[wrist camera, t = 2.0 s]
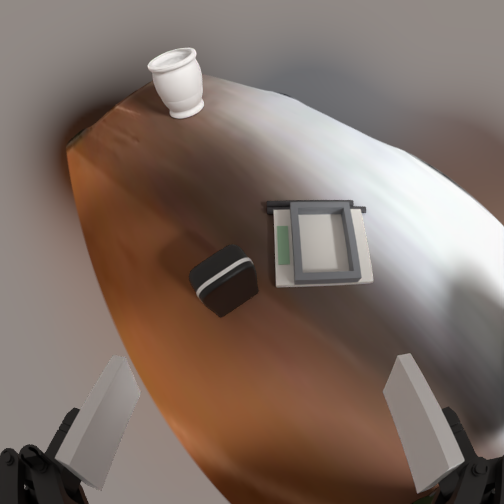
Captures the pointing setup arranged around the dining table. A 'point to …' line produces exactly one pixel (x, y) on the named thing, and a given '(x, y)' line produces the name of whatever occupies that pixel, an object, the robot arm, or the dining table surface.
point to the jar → (178, 81)
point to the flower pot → (425, 500)
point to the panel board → (321, 245)
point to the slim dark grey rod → (286, 204)
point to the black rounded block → (224, 280)
